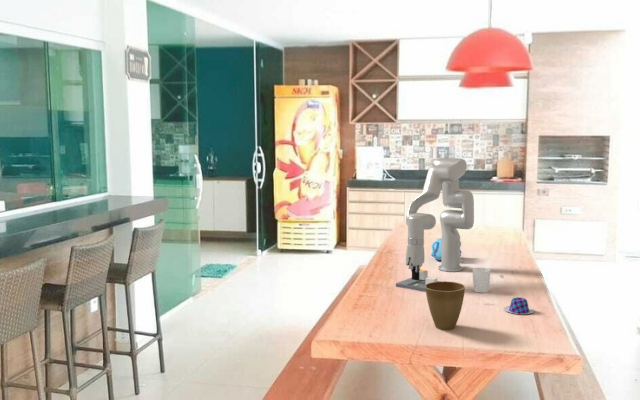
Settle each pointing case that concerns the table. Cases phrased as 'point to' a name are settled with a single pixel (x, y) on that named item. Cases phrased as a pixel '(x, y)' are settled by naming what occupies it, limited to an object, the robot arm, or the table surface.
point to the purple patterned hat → (519, 306)
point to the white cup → (481, 279)
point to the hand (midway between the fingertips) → (415, 279)
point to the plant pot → (445, 303)
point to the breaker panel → (413, 284)
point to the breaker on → (430, 280)
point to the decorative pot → (438, 249)
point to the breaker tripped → (423, 274)
